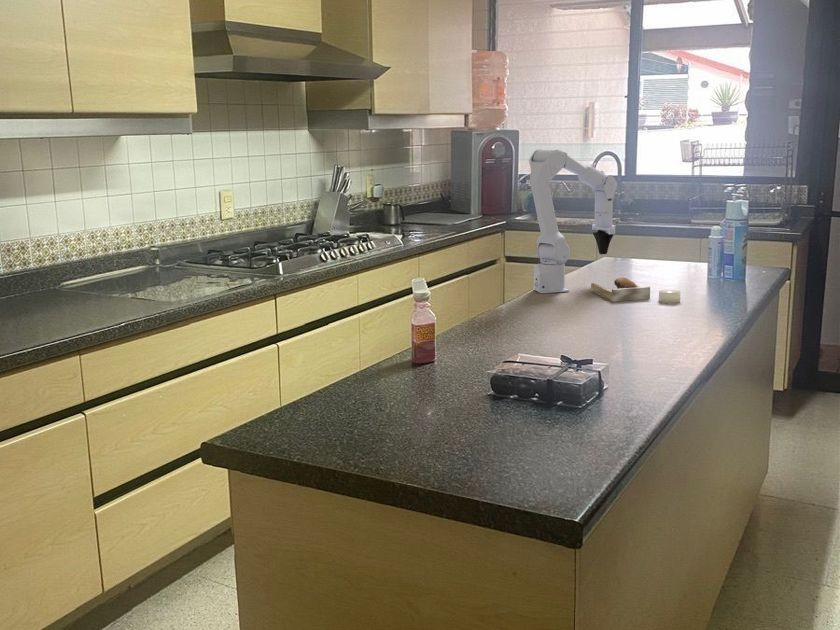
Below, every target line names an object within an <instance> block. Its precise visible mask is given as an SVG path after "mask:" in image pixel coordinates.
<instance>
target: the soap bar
mask: <svg viewBox="0 0 840 630" xmlns="http://www.w3.org/2000/svg"><path fill="white" fill-rule="evenodd" d="M658 302H659V303H662V304H678V302H679V303H680V302H681V290H678V289H669V288H668V289H661V290H658Z"/></svg>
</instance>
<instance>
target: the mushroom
mask: <svg viewBox="0 0 840 630" xmlns="http://www.w3.org/2000/svg"><path fill="white" fill-rule="evenodd" d="M614 285H615V287H616V289H622V288H636V287H637V286H636V285H637V284H636V283H635V282H634V281H632V280H631V279H629V278H626V277H617V278H616V279H614Z"/></svg>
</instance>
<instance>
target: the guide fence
mask: <svg viewBox="0 0 840 630" xmlns="http://www.w3.org/2000/svg"><path fill="white" fill-rule="evenodd" d="M590 284H591V285H590V291H591V292H592V293H594V294H596V295H598V296H601V297H603V298H606V300H609V301H611V302H624V301H635V300H636V301H638V300H649V299H650V300H651V287H650V286H639V285H637V284H636V286H637V287H636V288H622V289H617V288H613V289H611V290H610V289H608V288H606V287H603V286H601V285H599V284H597V283H594V282H592V283H591V282H590Z"/></svg>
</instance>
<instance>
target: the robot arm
mask: <svg viewBox="0 0 840 630" xmlns="http://www.w3.org/2000/svg"><path fill="white" fill-rule="evenodd" d="M528 161H529V167H530V174H529V183H530V188H531V193H532V199H533V203H534V207H535V212H536V217H537V222H538V226H539V230H540V235H539V236H538V238H536V246H537V247H536V255H537V257H538V259H540V260H539V262H540V263H537V264H534V266H533V287H532V289H533V291H536V292H537V293H539V294H551V293H552V294H553V293H564V292H569V291H570V289H568V288H566V285H565V284H566V283H565V282H566V280H565V279H566V277H565V274H566V269H565V268H566V264H567V261H568V260H569V258H570V255H571V249H570V246H569V244H568V242H567V241H566V237H565V236H564V235H563V234H562V233H561V232H560V231H559V230H560V229H559V226H558V221H557V215H556V212H555V207H554V202H553V197H552V193H551V187H550V183H551V180H552V179H554V177H556V175H558V174H559V172H560V171H562V170H563V169H565V170H567V171H568V172H571V173H573V174H574V175H576V176H577V179H578V181H580V182H581V183H583V184H584V185H586V186H588V187H590V189H591V191H592V192H593V193H594V223H591V230H592V231H595V232H593V233H592V235H593V236H594V238H595V242H596V245H597V250H598V253H599V255H607V253H608V251H609V246H610V243H611V241H612V238H613V237H614V236H615V235H616V227H617V225H615V224H613V215H614V214H613V213H614V211H613V208H614V205H613V204H614V197H615V192H616V190H617V189H618V183H617V180H616V178H615V177H614V176H613V175H609V174H607V175H606V173H605V172H604V171H603V170H599V169H597V168H596V167H595V165H594V164H585V165H584V164H582V163H580V162H579V161H577V160H576V159H574V157H571V156H570V155H569V154H568V153H567V152H566V151H563V150H562V149H558V148H556V149H542V148H541V149H540V148H539V149H538V148H537V149H536V150H534V151H533V152H532V154H531V156H530V158H529V160H528Z"/></svg>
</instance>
